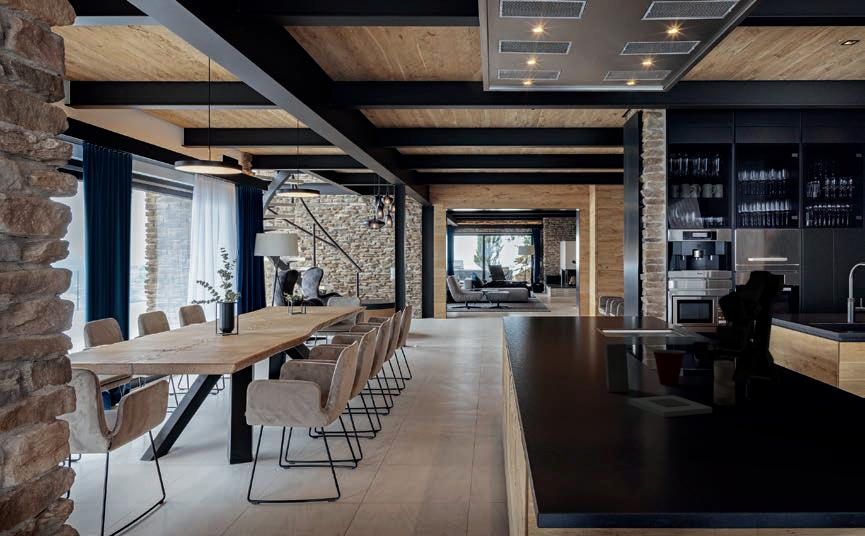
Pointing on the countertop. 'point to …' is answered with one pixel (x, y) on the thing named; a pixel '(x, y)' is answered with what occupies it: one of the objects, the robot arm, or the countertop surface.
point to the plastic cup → (668, 366)
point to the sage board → (669, 406)
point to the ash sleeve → (724, 383)
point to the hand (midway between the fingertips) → (722, 379)
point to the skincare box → (616, 367)
